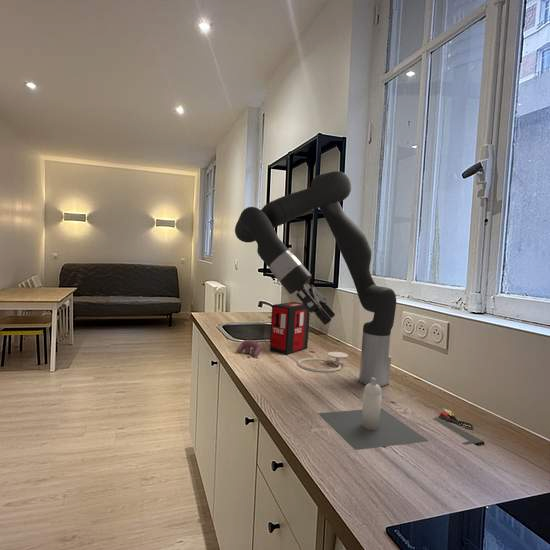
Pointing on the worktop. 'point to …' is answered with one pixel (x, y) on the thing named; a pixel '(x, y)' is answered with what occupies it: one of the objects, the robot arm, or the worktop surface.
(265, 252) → the robot arm
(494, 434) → the worktop surface
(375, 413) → the white pump bottle
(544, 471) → the worktop surface
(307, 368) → the hand towel holder
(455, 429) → the smartphone
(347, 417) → the mat
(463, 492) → the worktop surface
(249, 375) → the worktop surface
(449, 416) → the composite cable
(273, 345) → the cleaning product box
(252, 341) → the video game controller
